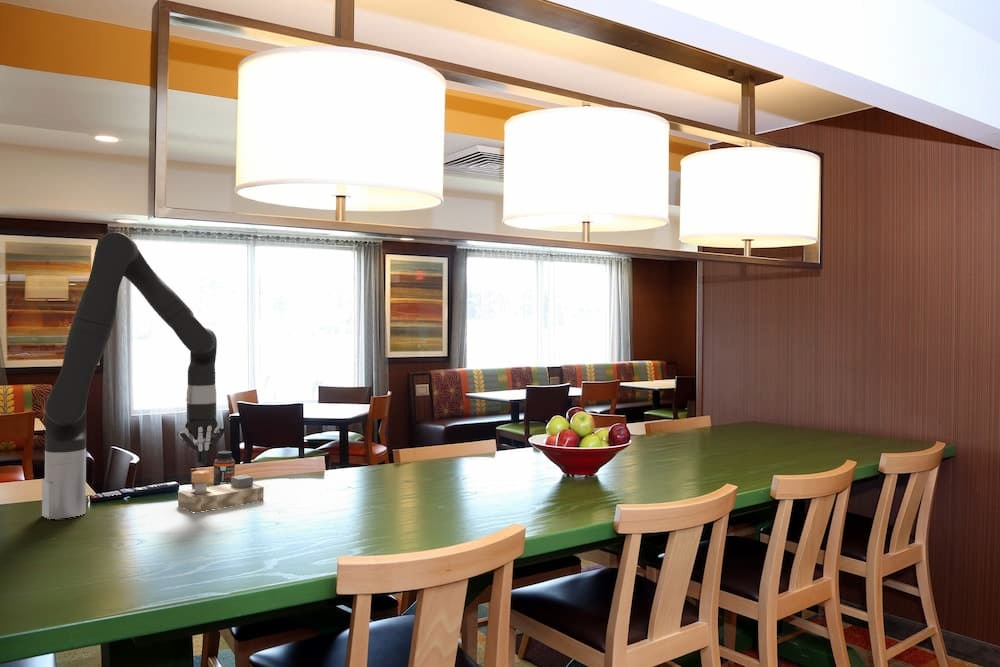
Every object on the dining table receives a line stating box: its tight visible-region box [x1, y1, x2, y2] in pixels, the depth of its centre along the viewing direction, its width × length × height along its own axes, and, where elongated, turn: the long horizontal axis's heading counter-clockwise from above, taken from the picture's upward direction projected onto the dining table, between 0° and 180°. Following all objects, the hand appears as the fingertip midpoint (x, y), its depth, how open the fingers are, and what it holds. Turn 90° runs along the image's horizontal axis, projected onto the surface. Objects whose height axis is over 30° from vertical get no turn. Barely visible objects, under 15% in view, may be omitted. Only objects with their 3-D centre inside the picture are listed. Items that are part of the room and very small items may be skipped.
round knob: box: [191, 470, 211, 496], centre depth 203 cm, size 5×5×6 cm
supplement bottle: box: [213, 450, 236, 486], centre depth 224 cm, size 6×6×11 cm
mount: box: [177, 482, 265, 513], centre depth 208 cm, size 20×10×4 cm, turn 136°
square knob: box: [231, 474, 254, 489], centre depth 212 cm, size 4×4×6 cm
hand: (201, 463), depth 203 cm, fingers closed
